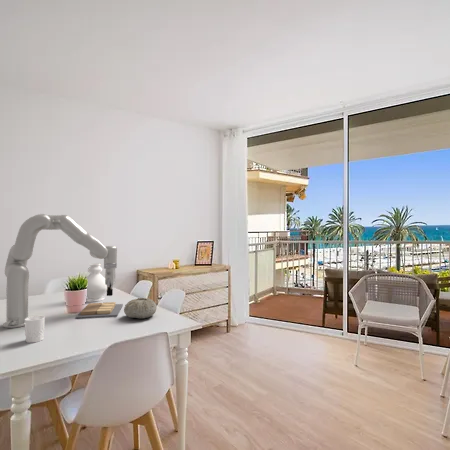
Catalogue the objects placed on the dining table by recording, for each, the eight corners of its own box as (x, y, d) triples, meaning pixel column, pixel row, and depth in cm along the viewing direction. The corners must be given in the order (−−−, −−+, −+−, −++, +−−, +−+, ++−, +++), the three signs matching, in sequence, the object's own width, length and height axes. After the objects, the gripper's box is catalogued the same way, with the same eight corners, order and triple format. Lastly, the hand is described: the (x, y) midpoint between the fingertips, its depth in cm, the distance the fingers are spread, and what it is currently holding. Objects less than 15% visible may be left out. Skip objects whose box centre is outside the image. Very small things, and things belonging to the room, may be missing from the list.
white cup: (48, 337, 147) (48, 315, 147) (38, 343, 140) (39, 320, 140) (30, 337, 147) (30, 315, 147) (20, 343, 139) (20, 320, 139)
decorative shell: (145, 323, 169) (145, 304, 169) (117, 319, 175) (117, 301, 175) (162, 314, 186) (162, 297, 186) (136, 311, 192) (136, 294, 192)
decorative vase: (92, 303, 211) (92, 266, 211) (75, 300, 220) (75, 264, 220) (114, 298, 226) (114, 263, 226) (97, 295, 235) (97, 261, 235)
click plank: (110, 313, 183) (110, 310, 183) (96, 314, 181) (96, 310, 181) (115, 305, 202) (115, 302, 202) (103, 305, 201) (103, 302, 201)
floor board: (117, 316, 181) (117, 311, 181) (75, 318, 176) (75, 313, 176) (122, 305, 206) (122, 300, 206) (86, 307, 202) (86, 302, 202)
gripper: (114, 267, 191) (114, 297, 191) (118, 264, 206) (117, 293, 206) (101, 267, 190) (100, 298, 190) (105, 264, 205) (105, 293, 204)
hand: (109, 295), depth 198 cm, fingers closed
